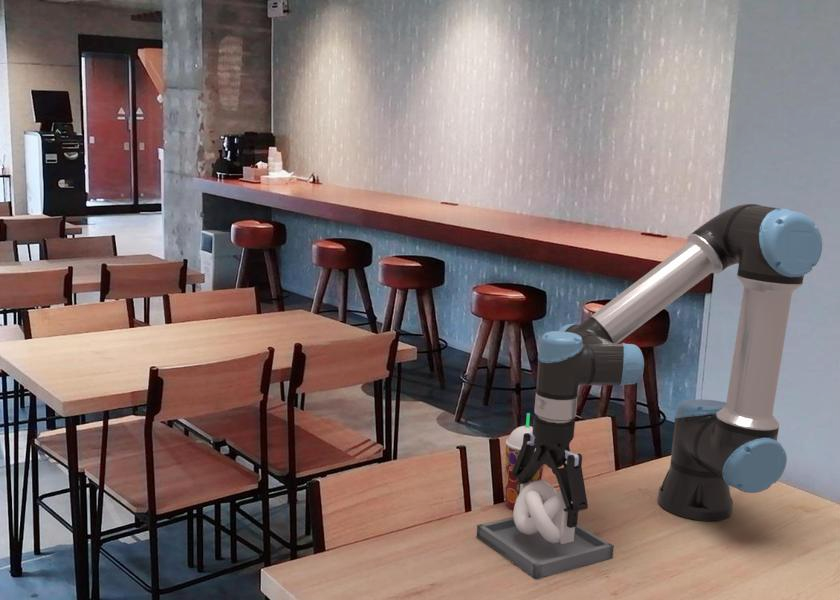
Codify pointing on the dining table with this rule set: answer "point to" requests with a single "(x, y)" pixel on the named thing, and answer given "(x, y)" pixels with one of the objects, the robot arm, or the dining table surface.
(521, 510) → the white trefoil knot
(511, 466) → the smoothie
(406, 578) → the dining table surface
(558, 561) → the tray
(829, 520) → the dining table surface
